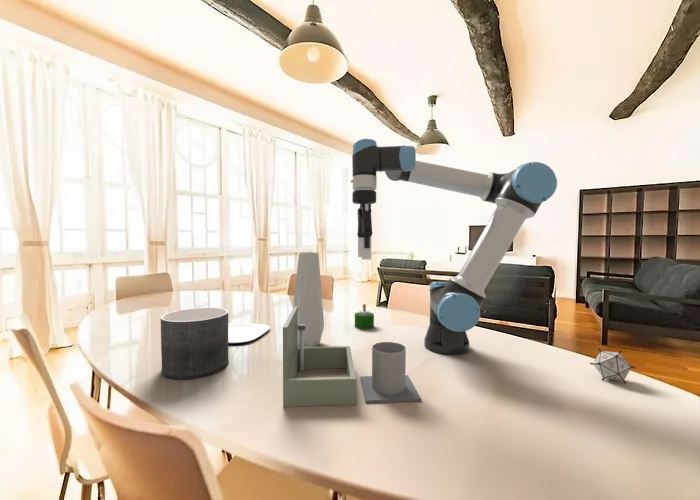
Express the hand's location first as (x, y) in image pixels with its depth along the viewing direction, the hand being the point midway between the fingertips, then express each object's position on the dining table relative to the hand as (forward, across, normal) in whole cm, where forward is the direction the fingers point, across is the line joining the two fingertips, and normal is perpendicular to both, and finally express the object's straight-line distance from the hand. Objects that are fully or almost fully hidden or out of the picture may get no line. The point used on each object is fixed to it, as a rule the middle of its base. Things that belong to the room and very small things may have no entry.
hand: (364, 258), depth 101 cm
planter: (+32, +5, -50) cm, 60 cm away
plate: (+32, -27, -49) cm, 65 cm away
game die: (+32, +20, +65) cm, 75 cm away
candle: (+32, -36, +4) cm, 48 cm away
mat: (+32, +22, +4) cm, 39 cm away
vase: (+32, -14, -18) cm, 39 cm away
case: (+32, +18, -13) cm, 39 cm away
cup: (+31, +22, +4) cm, 38 cm away
